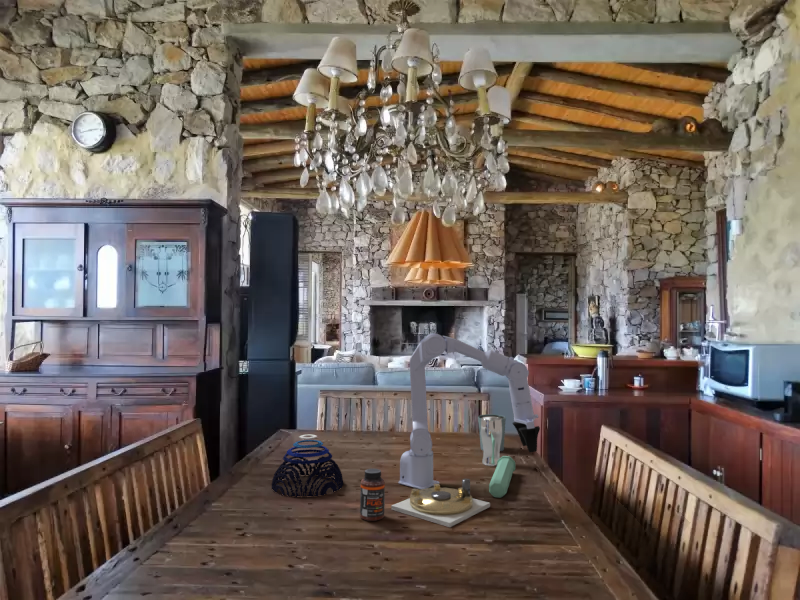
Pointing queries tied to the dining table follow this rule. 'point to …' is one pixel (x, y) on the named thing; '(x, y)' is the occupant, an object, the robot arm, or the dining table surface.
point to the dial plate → (441, 519)
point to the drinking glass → (503, 420)
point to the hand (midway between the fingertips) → (529, 448)
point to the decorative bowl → (329, 472)
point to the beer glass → (491, 439)
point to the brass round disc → (442, 499)
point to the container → (502, 476)
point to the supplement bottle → (372, 495)
